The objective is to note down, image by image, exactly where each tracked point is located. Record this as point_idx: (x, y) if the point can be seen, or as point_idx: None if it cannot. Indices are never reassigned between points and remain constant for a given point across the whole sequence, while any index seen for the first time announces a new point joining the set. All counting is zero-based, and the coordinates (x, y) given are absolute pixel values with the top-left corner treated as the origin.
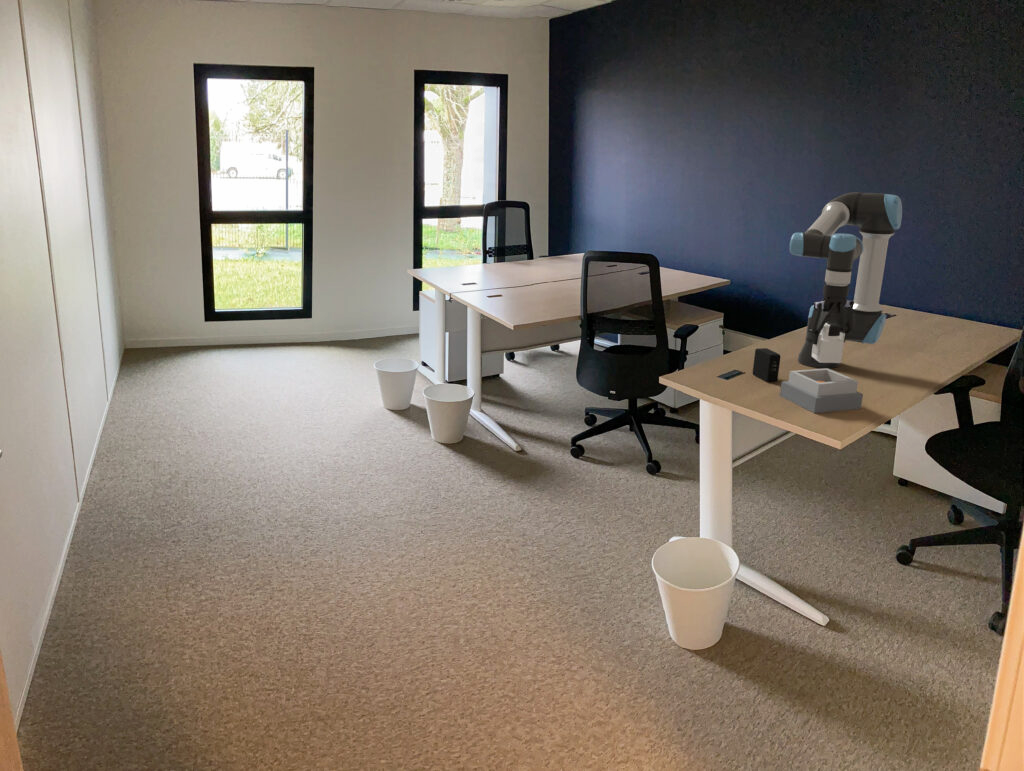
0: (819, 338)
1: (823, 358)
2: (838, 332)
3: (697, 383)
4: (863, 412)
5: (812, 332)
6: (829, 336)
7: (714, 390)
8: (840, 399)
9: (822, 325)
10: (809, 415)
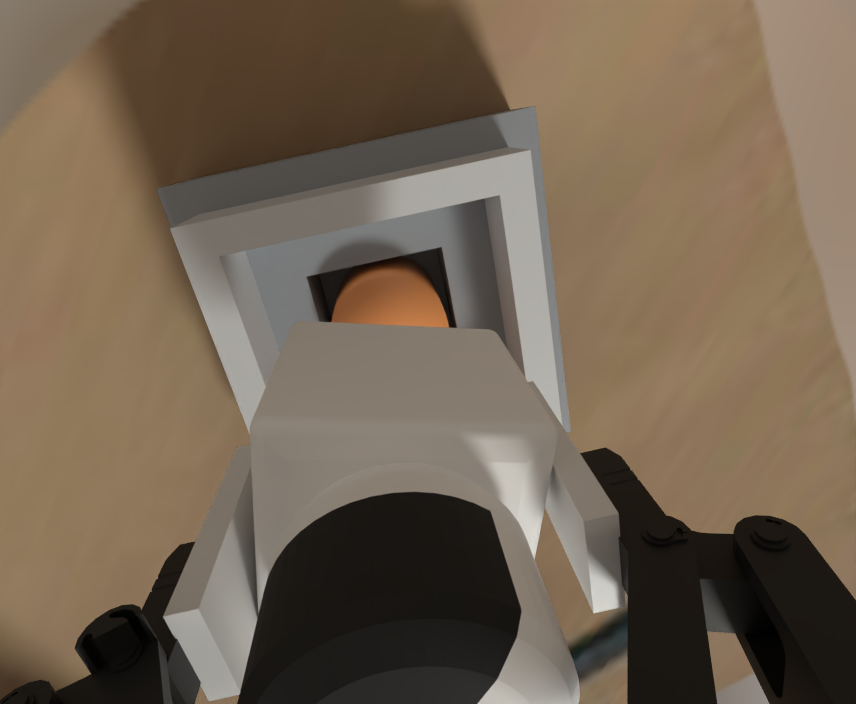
0: (597, 484)
1: (475, 341)
2: (325, 553)
3: (812, 540)
4: (198, 111)
5: (786, 522)
6: (471, 496)
7: (801, 459)
8: (339, 148)
9: (667, 662)
10: (557, 69)
